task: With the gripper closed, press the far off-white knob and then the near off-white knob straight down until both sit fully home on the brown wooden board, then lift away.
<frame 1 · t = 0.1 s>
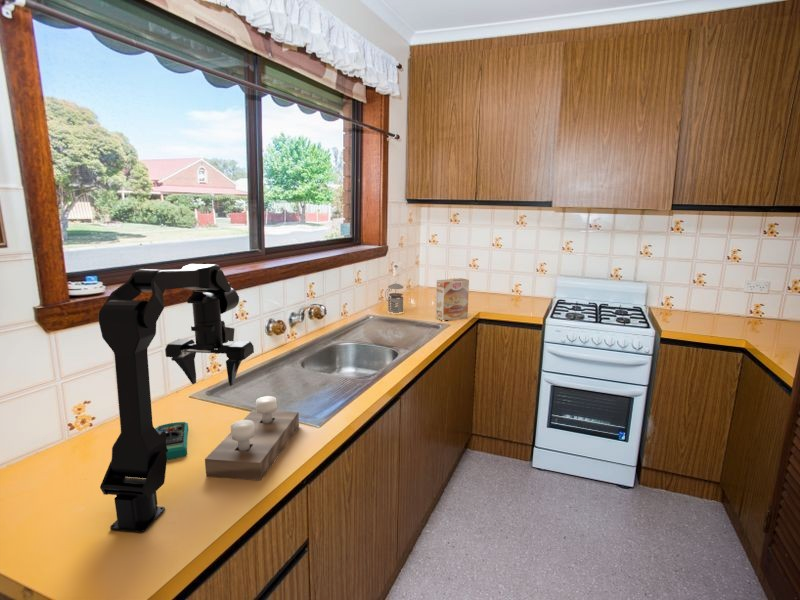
hand: (212, 384, 109), 15 cm above the worktop, tool pointing down, fingers open, 9 cm apart
near knob: (243, 438, 102), point 6 cm above the worktop, slide at 2.5 cm
digital multimeter: (171, 447, 111), on the worktop
french press: (394, 312, 246), on the worktop
far knob: (266, 412, 114), point 6 cm above the worktop, slide at 2.5 cm
brown wooden board: (257, 448, 109), on the worktop
coffeecake box: (451, 319, 233), on the worktop
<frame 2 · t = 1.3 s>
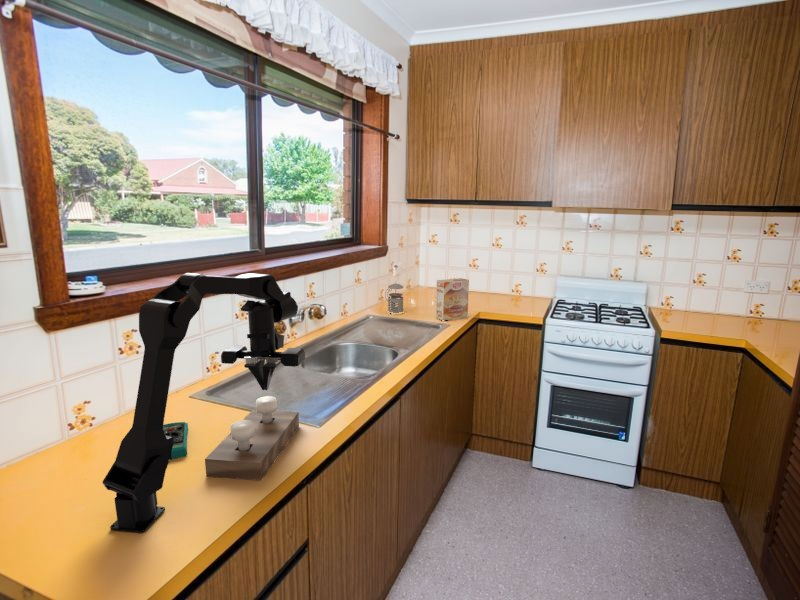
hand: (265, 389, 113), 12 cm above the worktop, tool pointing down, fingers closed
nothing on the worktop moved.
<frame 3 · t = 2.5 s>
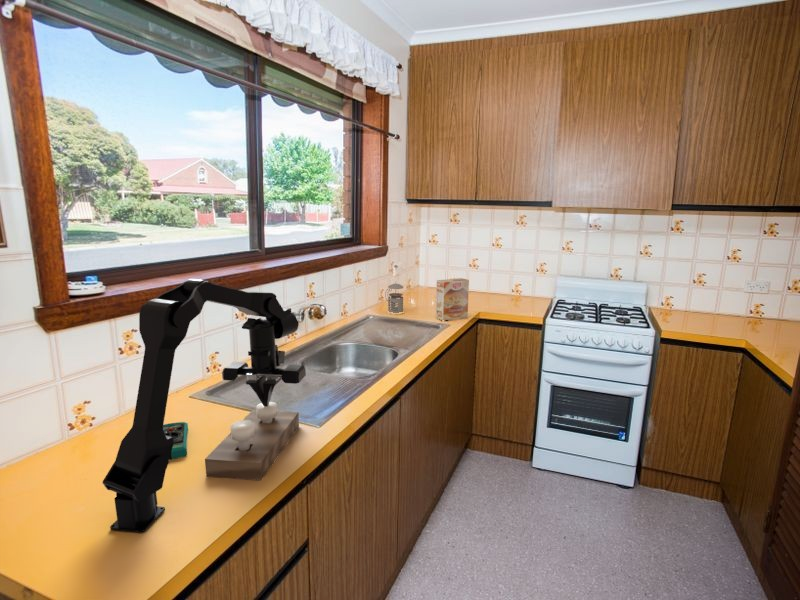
hand: (266, 405, 114), 8 cm above the worktop, tool pointing down, fingers closed, pressing on far knob
far knob: (267, 418, 115), point 5 cm above the worktop, slide at 1.1 cm, touching gripper
everything else where it was.
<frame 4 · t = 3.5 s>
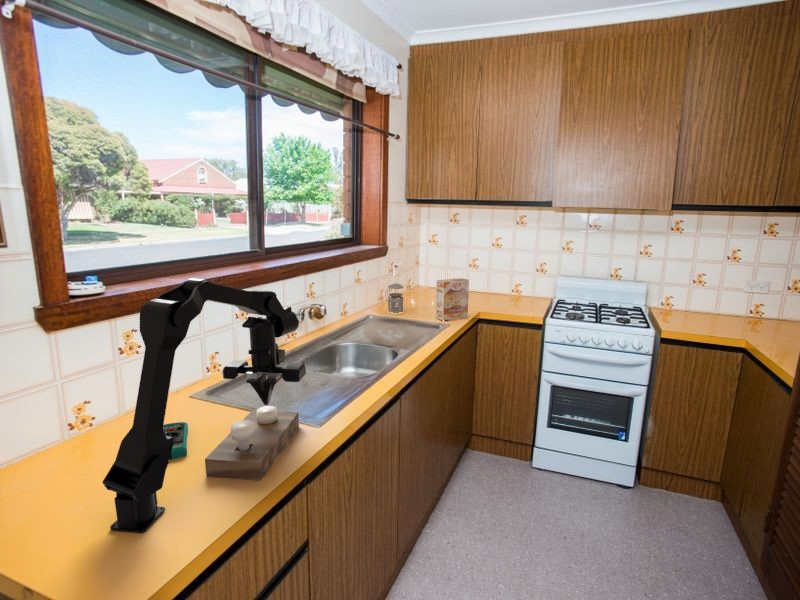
hand: (266, 404, 114), 8 cm above the worktop, tool pointing down, fingers closed
far knob: (267, 422, 115), point 3 cm above the worktop, slide at -0.1 cm
everything else where it was.
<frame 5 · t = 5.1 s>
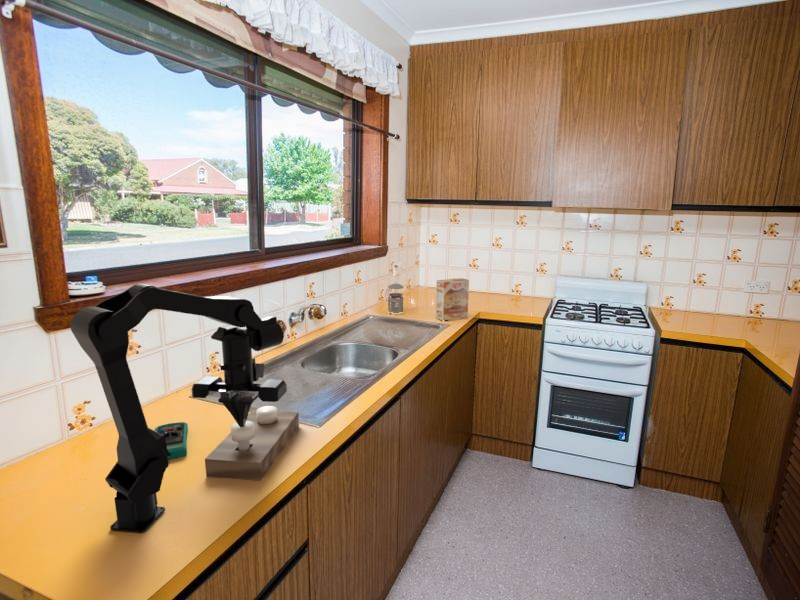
hand: (242, 425, 101), 9 cm above the worktop, tool pointing down, fingers closed, pressing on near knob
near knob: (243, 439, 102), point 6 cm above the worktop, slide at 2.3 cm, touching gripper
everything else where it was.
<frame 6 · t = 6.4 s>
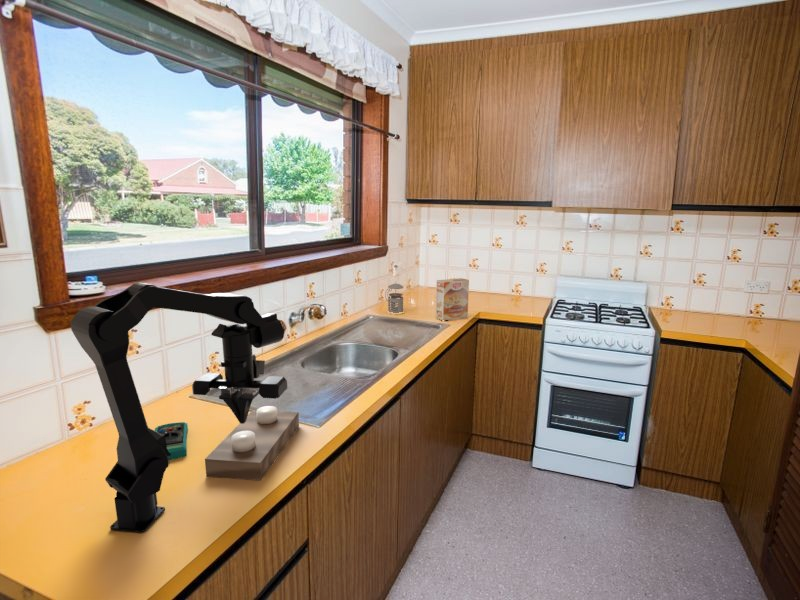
hand: (243, 422, 101), 10 cm above the worktop, tool pointing down, fingers closed
near knob: (244, 449, 102), point 3 cm above the worktop, slide at -0.1 cm
everything else where it was.
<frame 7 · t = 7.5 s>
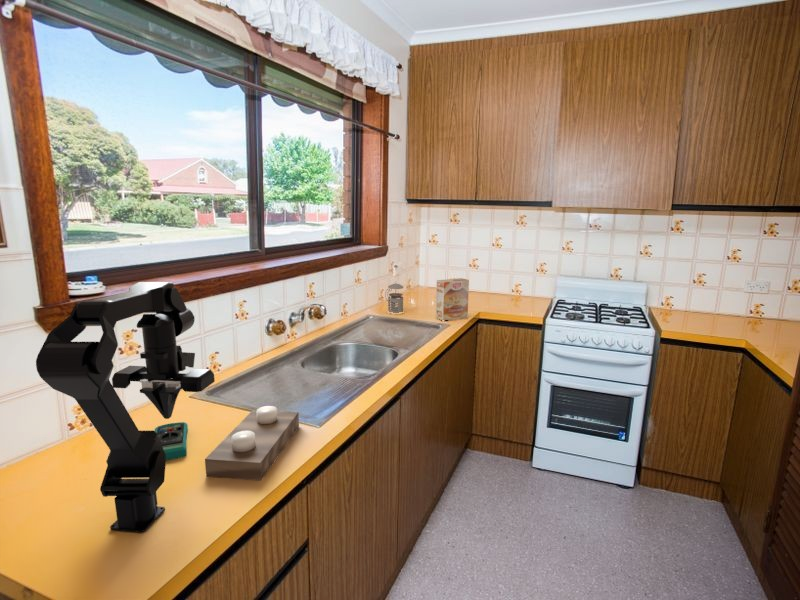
hand: (167, 417, 96), 13 cm above the worktop, tool pointing down, fingers closed
nothing on the worktop moved.
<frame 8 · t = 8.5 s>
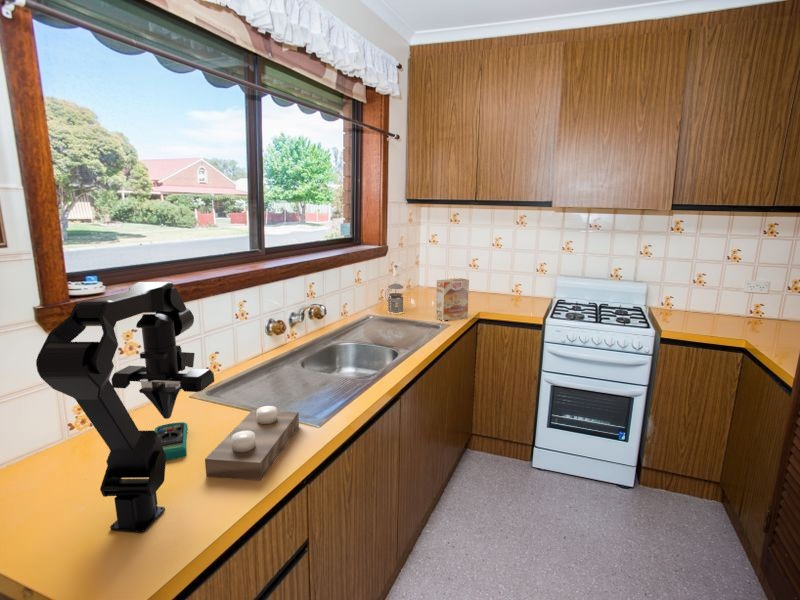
hand: (167, 417, 96), 13 cm above the worktop, tool pointing down, fingers closed
nothing on the worktop moved.
at the end: far knob slide at -0.1 cm; near knob slide at -0.1 cm; digital multimeter moved 0.7 cm from its start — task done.
